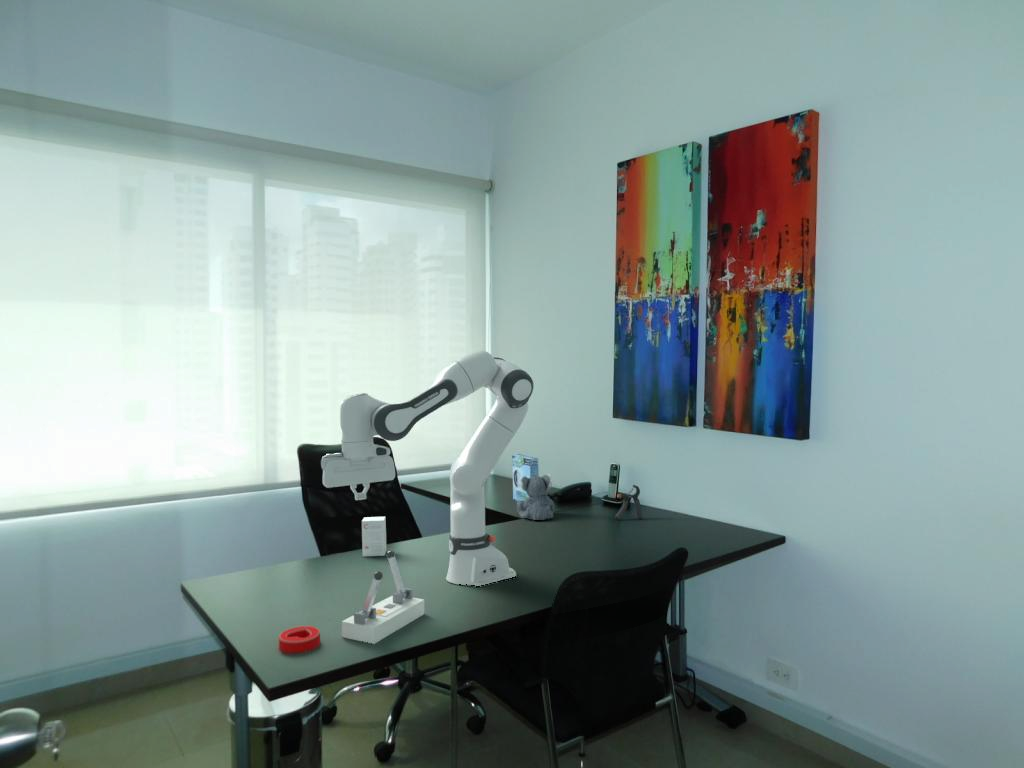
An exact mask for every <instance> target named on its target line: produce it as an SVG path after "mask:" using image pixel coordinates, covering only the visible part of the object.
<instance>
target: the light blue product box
mask: <svg viewBox="0 0 1024 768" xmlns="http://www.w3.org/2000/svg"><path fill="white" fill-rule="evenodd" d="M511 458H512V459H511V460H512V461H511V463H512V465H511V466H512V468H511V469H512V499H513V500H514V499H515V500H514V501H516V502H518V501H519V500H523V501H525V499H526V498H527V497H529V496H528V495H527V492H526V491H523V489H522V488H521V487H520V484H519V483H520V481H519V478H520V477H522V476H523V477H524V476H525V477H527V478H530V477H532V476H539V475H540V474H539V458H537V457H533V456H529V455H524V454H520V453H519V454H512V455H511ZM539 477H540V476H539Z"/></svg>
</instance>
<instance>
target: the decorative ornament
mask: <svg viewBox="0 0 1024 768" xmlns="http://www.w3.org/2000/svg"><path fill="white" fill-rule="evenodd" d="M319 644H320V645H321V631H320V630H319V628H316V627H314V626H296V627H292V628H289V629H285V630H283V632H281V633H280V634H279V636H278V649H279V651H280V652H281V651H282V652H281V653H284V652H285V653H284V654H290V653H297V654H302V653H301V652H304V653H306V652H305V651H308V652H310V651H309V650H311V651H313V650H315V649H317V648H318V647H319V646H320V645H319ZM316 647H317V648H316ZM314 648H315V649H314ZM312 649H313V650H312Z"/></svg>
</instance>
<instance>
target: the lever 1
mask: <svg viewBox="0 0 1024 768" xmlns="http://www.w3.org/2000/svg"><path fill="white" fill-rule="evenodd" d="M383 577H384V574H383V573H382V571H379V570H378V571H375V572H374V574H373V579H372V581H371V585H370V588H369V591H368V593H367V596H366V599H365V603H364V605H363V608H362V610H361V611H362V612H361V611H359V612H360V613H363V614H365V619H366V618H368V617H370V616H371V615H372V611H371V608H372V606H373V605H374V603H375V599H376V596H377V594H378V591H379V587H380V584H381V581H382V580H383Z"/></svg>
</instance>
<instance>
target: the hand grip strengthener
mask: <svg viewBox="0 0 1024 768" xmlns="http://www.w3.org/2000/svg"><path fill="white" fill-rule="evenodd" d="M634 489H635V490H636V491H635V493H634V494H631V493H632V492H633V491H634ZM640 489H641V488H640V487H639V486H638V485H635V484H633V485H632V487H631V488H630V489H629V491H628V492H627V493H626V494H622V493H617V495H616V497H617V498H618V499H622V500H623V502H622V504H621V507H620V509H619V510H618V512H617V513H616V514H615V515H614V518H615V519H616V520H619V519H620V518H621V517H622V516H623V515H624V514H625V512H626V509H627V508H628V505H629V501H630V499H633V503H634V507H635V511H636V516H637V517H636V518H637V519H638V520H642V519H643V509H642V505H641V502H640V499H639V498H638V497H639V495H640V493H641V490H640Z"/></svg>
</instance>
